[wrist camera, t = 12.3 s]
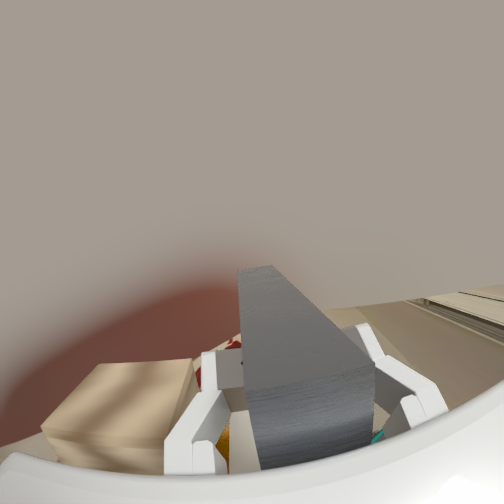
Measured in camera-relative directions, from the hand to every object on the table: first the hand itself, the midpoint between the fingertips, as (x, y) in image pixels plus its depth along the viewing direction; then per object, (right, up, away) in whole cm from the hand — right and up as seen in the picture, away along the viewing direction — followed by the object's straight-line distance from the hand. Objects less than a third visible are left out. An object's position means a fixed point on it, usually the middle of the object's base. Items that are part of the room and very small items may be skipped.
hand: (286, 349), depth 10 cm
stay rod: (0, -1, +6) cm, 6 cm away
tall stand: (-8, -33, +12) cm, 36 cm away
